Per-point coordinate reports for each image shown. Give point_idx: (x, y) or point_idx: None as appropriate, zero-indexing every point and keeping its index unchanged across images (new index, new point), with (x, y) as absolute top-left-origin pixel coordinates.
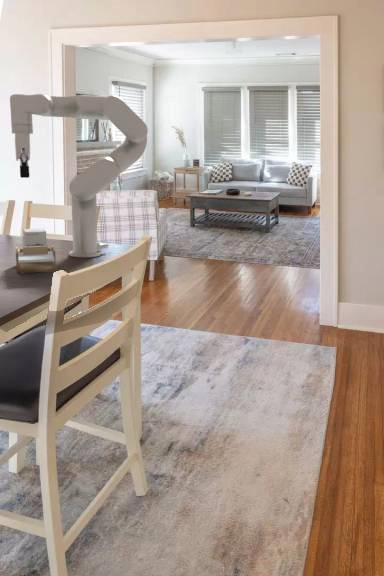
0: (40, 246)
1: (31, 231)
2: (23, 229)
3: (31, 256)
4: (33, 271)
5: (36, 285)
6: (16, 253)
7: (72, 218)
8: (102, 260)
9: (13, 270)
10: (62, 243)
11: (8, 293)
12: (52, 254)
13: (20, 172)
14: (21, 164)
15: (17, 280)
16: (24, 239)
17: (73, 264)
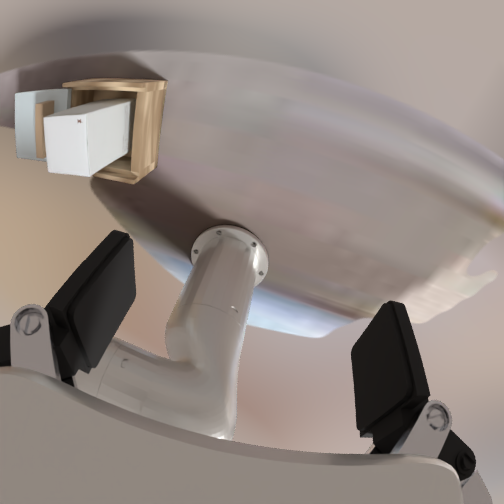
0: (37, 142)
1: (46, 134)
2: (81, 113)
3: (33, 117)
4: None
5: None
6: (64, 84)
7: (203, 298)
8: (163, 264)
9: (118, 70)
10: (398, 264)
11: (4, 77)
12: (42, 159)
13: (88, 259)
14: (16, 326)
15: (49, 82)
16: (70, 109)
17: (139, 202)
